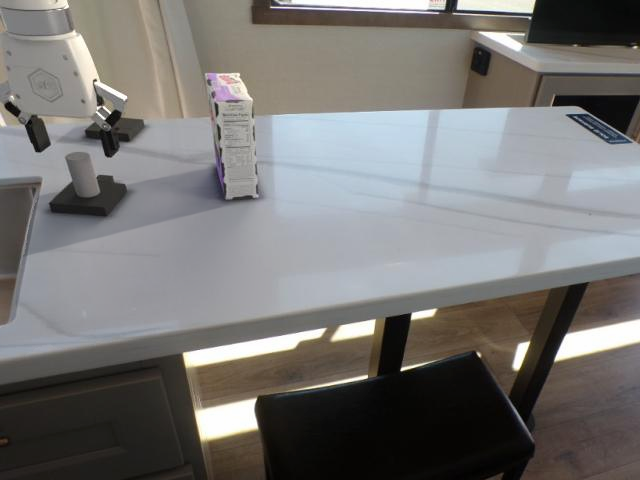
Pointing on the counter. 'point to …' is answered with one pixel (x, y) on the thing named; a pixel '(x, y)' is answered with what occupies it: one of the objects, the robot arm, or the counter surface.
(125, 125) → the notch pad
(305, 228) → the counter surface
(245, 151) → the candy box
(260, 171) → the counter surface
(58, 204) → the pad
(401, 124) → the counter surface
